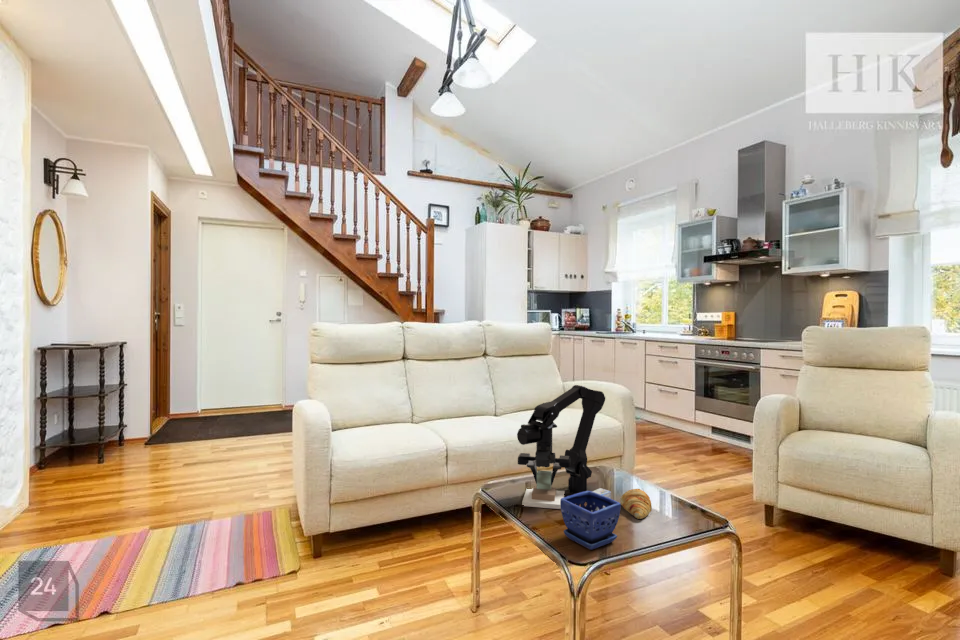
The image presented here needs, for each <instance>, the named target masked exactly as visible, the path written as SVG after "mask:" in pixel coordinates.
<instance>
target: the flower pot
mask: <svg viewBox="0 0 960 640" xmlns="http://www.w3.org/2000/svg"><path fill="white" fill-rule="evenodd" d="M592 491H593V490H587V491H584V492H580V493H577V494H571V495H567V496H564V498H561V500H560V504H561V509H560V511H561V516H562V519H563V522H564V524H565V526H566V528H567V529H564V530H563V534H564V535H565V536H566V537H567V538H568V539H569V540H571V541H573V542H575V543H577V544H579V545H581V546H583V547H584V548H586V549H588V550H594V549H597V548H600V547H603V546H606V545H607V544H610V543H612V542H614V541H615V540H617V538H618V535H617V534H616V533H613V532H614V531H615V529H616V527H617V525H618V521H619V518H620V513H621V509H622V508H621V507H622V505H621V502H620V501H617V500H615V499H612V498H611V499H610V498H608V497H605V496H603V495H600V494H597V493H595V492H592ZM594 503H595V504H594ZM585 504H586V505H585ZM603 506H605V508H603ZM597 507H598V508H599V510H598V511H596V508H597ZM591 510H592V511H593V512H591Z"/></svg>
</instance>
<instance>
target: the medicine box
mask: <svg viewBox="0 0 960 640" xmlns="http://www.w3.org/2000/svg"><path fill="white" fill-rule="evenodd" d="M591 491H592V492H595V493H597V494H600V495H603V496H605V497H608V498H610V499H612V491H610V490H608V489H605V488H601V487H599V488H597V489H595V490H591ZM594 504H595V503H594ZM603 508H605V506H603ZM598 510H599V508H598V507H597V508H596V511H598ZM591 512H593V511H592V510H591Z"/></svg>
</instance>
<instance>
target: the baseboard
mask: <svg viewBox="0 0 960 640" xmlns="http://www.w3.org/2000/svg"><path fill="white" fill-rule="evenodd" d="M565 492H566V491H565V490H558V489H557V487H552V486H551V490H547V489H537V485H534V486H533V488H532V489H527V488H526V490H525V492H524V496H523V498H522V502H521V503H522V504H521V505H524V506H523V507H530V508H531V507H533V508H542V509H543V508H544V509H553V510H554V509H555V510H556V509H557V510H561V504H560V500H561V498H564V497H565V495H564V494H565Z"/></svg>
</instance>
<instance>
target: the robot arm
mask: <svg viewBox="0 0 960 640" xmlns="http://www.w3.org/2000/svg"><path fill="white" fill-rule="evenodd" d="M579 399H581V406H582V413H581V417H580V421H579V424H578V427H577V431H576V434H575V438H574V441H573V445H572V447H571V448H570V449H566V450H565V452H564V455H561V454H560V455H559V457H556V452H553V429H554V428H555V429H556V428H558V425H557V424H556V423H555V422H554V421H556V420H557V418H559V416H560V413H561V412H562V411H563V410H564V409H566V408H567V407H569V406H571V405H572V404H573V403H575V402H577V401H578V400H579ZM605 401H606V396H605V394H604V392H603V391H600V390H594V389H590V388H588V387H586V386H585V385H579V384H578V385H577V384H574V385H573V386H572V387H571V388H570V389H568V390H566V391H565V392H564V393H562V394H560V395H558V396H557V397H556V398H554V399H553V400H550V401H547V402H543V403H539V404H538V405H537V406H535V407H534V409H533V412H532V413H531V416H530V418H529V419H528V421H527V424H524V423H523V424H521V425H520V428H519V429H518V431H517V433H516V437H517V441H518V443H519V444H520V445H522V446H525V445H531V444H535V443H536V446H535V447H536V448H535V455H534V456H531V453H529V452H521V453H519V455H518V457H517V465H519V466H520V465H522V466H526V467H527V468H529V469H530V471H531V472H532V474H533V477H534V481H535V484H536V485H537V472H538V469H537V467H538V468H540V467H541V468H542V467H544V468H550V467H551V464H553V466H552V470H551V471H552V478H551V485H552V486H553V484H554V481H555V480H554V479H555V478H556V474H557V472H558V471H559V470H561V469H562V468H563V469H565V473H566V474H568V475H569V477H568V482H567V483H568V485H567V487H568V491H569V494H572V495H574V494H577V493H580V492H584V491H588V479H589V478H591V477H592V473H593V470H591V468H590V467H589V466H588V456H587V447H588V444H589V440H590V437H591V433H592V430H593V427H594V422H595V419H596V416H597V414H598V413H599V412H600V411H601V410H602V409H603V408H604V404H605Z"/></svg>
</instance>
